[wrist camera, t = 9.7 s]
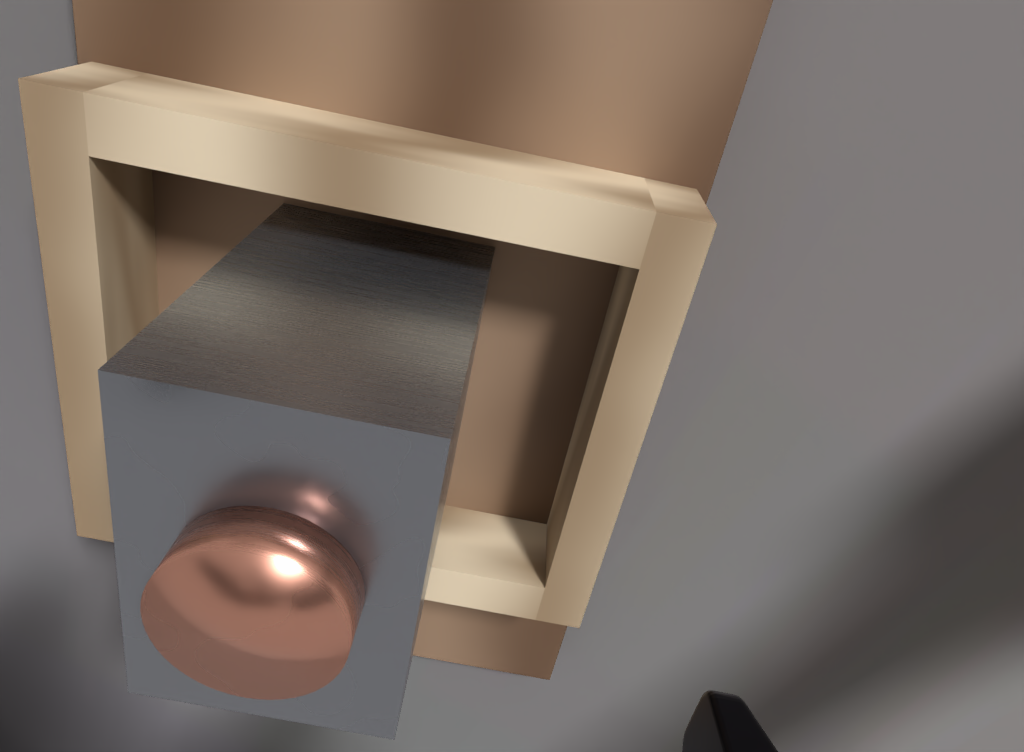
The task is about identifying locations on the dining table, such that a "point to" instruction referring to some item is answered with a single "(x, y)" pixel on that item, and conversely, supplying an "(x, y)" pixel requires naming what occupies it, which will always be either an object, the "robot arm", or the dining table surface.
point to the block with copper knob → (291, 467)
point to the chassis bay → (418, 206)
